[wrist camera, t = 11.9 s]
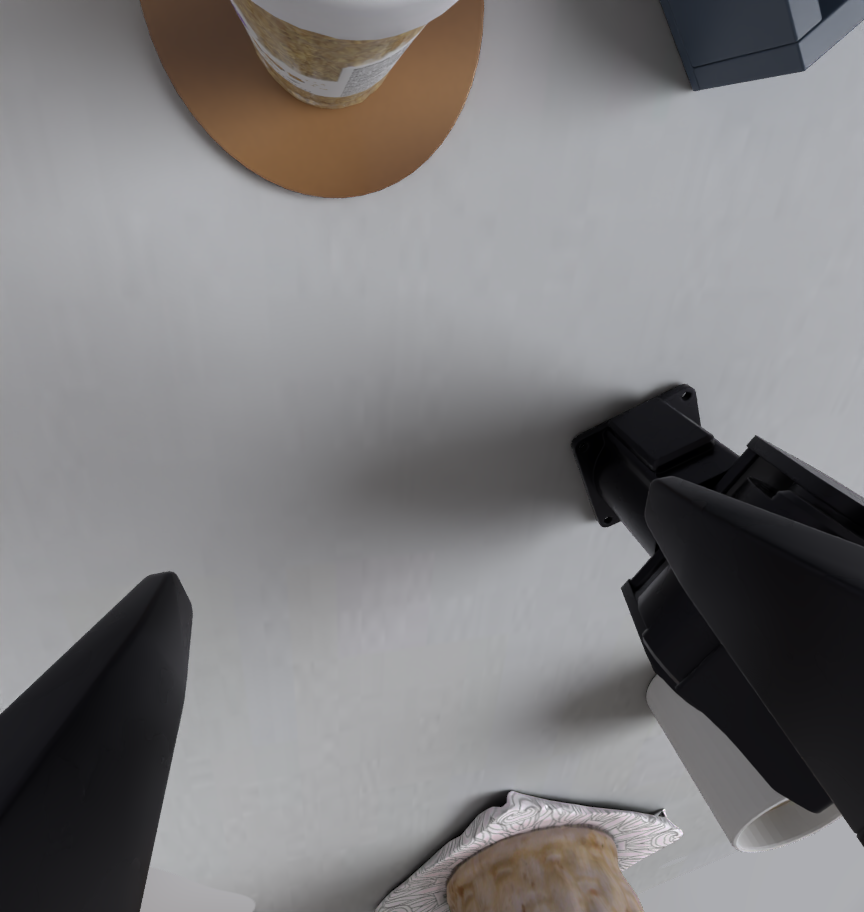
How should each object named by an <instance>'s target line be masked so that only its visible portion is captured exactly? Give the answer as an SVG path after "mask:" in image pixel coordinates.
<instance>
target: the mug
mask: <svg viewBox="0 0 864 912" xmlns="http://www.w3.org/2000/svg"><path fill="white" fill-rule="evenodd" d="M646 698H647V703H648V706H649V707H650V709H651V711H652V712H653V714H654V716H655V717H656V719H657V721H658V723H659V724H660V726H661V728H662V729H663V731H664V733H665V734H666V736H667V738H668V739H669V741H670V743H671V744H672V746H673V748H674V749H675V751H676V753H677V754H678V756H679V758H680V759H681V761H682V763H683V764H684V766H685V768H686V769H687V771H688V773H689V774H690V776H691V778H692V779H693V781H694V783H695V784H696V786H697V788H698V789H699V791H700V793H701V794H702V796H703V798H704V799H705V801H706V803H707V804H708V806H709V808H710V809H711V811H712V813H713V814H714V816H715V818H716V819H717V821H718V823H719V824H720V826H721V828H722V829H723V831H724V833H725V834H726V836H727V838H728V839H729V841H730V843H731V844H732V846H733V847H734V848H736V849H737V850H739V851H741V852H762V851H768V850H772V849H776V848H779V847H782V846H785V845H789V844H791V843H794V842H797V841H799V840H801V839H804V838H806V837H808V836H810V835H812V834H814V833H816V832H818V831H820V830H822V829H824V828H825V827H827V826H828V825H830V824H832V823H833V822H835V821H836V820H838V819H839V818H840V817H842V814H841V813H840V812H839V810H838V809H837V807H836V806H835V804H833V805H831V806H830V807H828V808H827V809H825V810H824V811H822V812H821V813H819V814H816V813H812V812H810V811H808V810H806V809H804V808H802V807H801V806H799V805H797V804H796V803H794V802H792V801H791V800H789V799H787V798H786V797H784V796H782V795H781V794H779V793H777V792H776V791H775V790H773V789H772V788H771V787H770V786H769V784H768V783H767V782H766V781H765V780H764V779H763V777H762V776H761V775H760V774H759V773H758V771H757V770H756V769H755V768H754V767H753V766H752V764H751V763H750V762H749V761H748V760H747V759H746V757H745V756H744V755H743V754H742V753H741V752H740V750H739V749H738V748H737V747H736V746H735V745H734V744H733V743H732V742H731V740H730V739H729V738H728V737H727V736H726V735H725V734H724V733H723V732H722V731H721V730H720V729H719V728H718V727H717V726H716V725H715V724H714V723H713V722H712V721H711V720H709V719H708V718H707V717H706V716H705V715H704V714H703V713H702V712H700V711H698V710H697V709H695V708H694V707H693V706H691V705H690V704H688V703H687V702H686V701H685V700H683V699H682V698H681V697H680V696H679V695H678V694H676V693H675V692H674V691H673V690H672V689H671V688H670V687H669V686H668V685H667V683H666V682H665V681H664V680H663V679H662V678H661V677H659V676H658V675H656V676H655V677H654V679H653V680H652V682H651V683H650V685H649V687H648V690H647V694H646Z"/></svg>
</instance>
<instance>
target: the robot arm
mask: <svg viewBox="0 0 864 912" xmlns="http://www.w3.org/2000/svg"><path fill="white" fill-rule="evenodd" d="M685 392H686V394H685V395H684V396H683V397H682V395H683V394H684V393H685ZM681 397H682V398H681ZM582 443H585V444H584V445H583V446H582V447H579V446H580V445H581V444H582ZM747 447H748V448H747V449H746V451H745V452H744V453H743V454H742V455H741V456H739V455H737V454H736V453H734V452H733V451H731V450H730V449H729V448H727V447H726V446H724V445H723V444H722V443H720V442H719V441H717V440H716V439H715V438H714V436H713V435H712V434H710V433H709V432H708V431H706V430H705V429H703V428H702V427H701V424H700V417H699V411H698V404H697V398H696V392H695V389H693V388H692V387H690V386H689V385H687V384H682V385H679V386H677V387H675V388H673V389H671V390H669V391H667V392H665V393H663V394H661V395H659V396H657V397H655V398H653V399H651V400H649V401H647V402H645V403H643V404H641V405H639V406H637V407H635V408H633V409H631V410H629V411H627V412H624V413H622V414H620V415H618V416H616V417H614V418H612V419H610V420H608V421H606V422H604V423H602V424H600V425H598V426H596V427H594V428H592V429H590V430H588V431H586V432H584V433H582V434H580V435H578V436H577V437H575V438H574V439H573V441H572V443H571V448H572V451H573V454H574V457H575V459H576V462H577V465H578V468H579V471H580V474H581V477H582V480H583V482H584V485H585V488H586V491H587V494H588V497H589V500H590V503H591V506H592V508H593V511H594V514H595V517H596V520H597V521H598V523H599V524H600V525H601V526H602V527H609V526H611V525H613V524H615V523H618V522H620V521H622V523H623V524H624V525H625V526H626V527H627V529H628V530H629V531H630V532H631V533H632V535H633V536H634V537H635V538H636V539H637V541H638V542H639V543H640V544H641V545H642V547H643V548H644V549H645V550H646V551H647V553H648V554H649V555H650V556H651V558H650V559H649V560H648V561H647V562H646V564H645V565H644V566H643V567H642V568H641V569H640V570H639V571H638V573H637V574H636V575H635V576H634V577H633V578H632V579H629V580H628V581H627V582H626V583H625V584H624V585H623V586H622V587H621V590H622V592H623V595H624V597H625V600H626V603H627V605H628V608H629V611H630V613H631V616H632V618H633V621H634V624H635V626H636V629H637V631H638V634H639V637H640V639H641V642H642V645H643V647H644V650H645V652H646V654H647V657H648V659H649V661H650V663H651V665H652V668H653V670H654V671H655V673H656V674H657V675H658V676H659V677H661V678H662V679H663V680H664V681H665V682H666V683H667V685H668V686H669V687H670V688H671V689H672V690H673V691H674V692H675V693H676V694H678V695H679V696H680V697H681V698H682V699H683V700H685V701H686V702H687V703H688V704H690V705H691V706H693V707H694V708H695V709H697V710H698V711H700V712H702V713H703V714H704V715H705V716H706V717H707V718H708V719H709V720H711V721H712V722H713V723H714V724H715V725H716V726H717V727H718V728H719V729H720V730H721V731H722V732H723V733H724V734H725V735H726V736H727V737H728V738H729V739H730V740H731V742H732V743H733V744H734V745H735V746H736V747H737V748H738V749H739V750H740V752H741V753H742V754H743V755H744V756H745V757H746V759H747V760H748V761H749V762H750V763H751V764H752V766H753V767H754V768H755V769H756V770H757V771H758V773H759V774H760V775H761V776H762V777H763V779H764V780H765V781H766V782H767V783H768V784H769V786H770V787H771V788H772V789H773V790H775V791H776V792H777V793H779V794H781V795H782V796H784V797H786V798H787V799H789V800H791V801H792V802H794V803H796V804H797V805H799V806H801V807H802V808H804V809H806V810H808V811H810V812H812V813H816V814H819V813H821V812H822V811H824V810H825V809H827V808H828V807H830V806H831V805H833V804H835V806H836V807H837V809H838V810H839V812H840V813H841V814H842V816H843V817H844V819H845V820H846V821H847V823H848V824H849V826H850V827H851V829H852V830H853V831H854V833H857V838H858V839H859V841H860V842H861V843H862V845H863V846H864V498H863V497H862V496H860V495H858V494H857V493H855V492H853V491H852V490H850V489H849V488H847V487H845V486H844V485H842V484H840V483H839V482H837V481H835V480H834V479H832V478H831V477H829V476H827V475H826V474H824V473H822V472H821V471H819V470H817V469H815V468H814V467H812V466H810V465H808V464H807V463H805V462H803V461H801V460H799V459H798V458H796V457H794V456H792V455H790V454H789V453H787V452H785V451H783V450H782V449H780V448H778V447H776V446H774V445H773V444H771V443H769V442H767V441H765V440H764V439H762V438H760V437H758V436H756V435H755V437H754V438H753V439H752V440H751V441H750V442H749V443H748V445H747ZM606 517H607V518H606ZM605 518H606V519H605ZM192 618H193V611H192V605H191V602H190V600H189V598H188V596H187V594H186V592H185V590H184V588H183V586H182V584H181V582H180V580H179V578H178V576H177V575H176V574H175V573H174V572H171V571H168V572H163V573H157V574H152V575H149V576H147V577H146V578H144V579H143V580H142V581H141V582H140V583H139V584H138V585H137V586H136V587H135V588H134V589H133V590H132V591H131V592H129V593H128V594H127V595H126V596H125V597H124V598H123V599H122V600H121V601H120V602H119V603H118V604H117V605H116V606H115V607H114V608H113V609H111V610H110V611H109V612H108V613H107V614H106V615H105V616H104V617H103V618H102V619H101V620H100V621H99V622H98V623H97V624H96V625H95V626H93V627H92V628H91V629H90V630H89V631H88V632H87V633H86V634H85V635H84V636H83V637H82V638H81V639H80V640H79V641H78V642H76V643H75V644H74V645H73V646H72V647H71V648H70V649H69V650H68V651H67V652H66V653H65V654H64V655H63V656H62V657H61V658H60V659H58V660H57V661H56V662H55V663H54V664H53V665H52V666H51V667H50V668H49V669H48V670H47V671H46V672H45V673H44V674H43V675H42V676H40V677H39V678H38V679H37V680H36V681H35V682H34V683H33V684H32V685H31V686H30V687H29V688H28V689H27V690H26V691H25V692H24V693H22V694H21V695H20V696H19V697H18V698H17V699H16V700H15V701H14V702H13V703H12V704H11V705H10V706H9V707H8V708H7V709H5V710H4V711H3V712H2V713H1V714H0V912H140V908H141V903H142V898H143V894H144V889H145V884H146V879H147V874H148V870H149V865H150V861H151V856H152V851H153V846H154V842H155V837H156V832H157V828H158V823H159V818H160V813H161V809H162V804H163V799H164V795H165V790H166V785H167V780H168V776H169V771H170V766H171V762H172V757H173V752H174V747H175V743H176V738H177V733H178V729H179V724H180V719H181V714H182V709H183V704H184V699H185V691H186V682H187V671H188V660H189V650H190V639H191V628H192Z"/></svg>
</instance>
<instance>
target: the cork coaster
mask: <svg viewBox="0 0 864 912" xmlns="http://www.w3.org/2000/svg"><path fill="white" fill-rule="evenodd" d="M140 3H141V8H142V11H143V14H144V18H145V21H146V24H147V27H148V30H149V33H150V37H151V39H152V42H153V44H154V47H155V49H156V51H157V54H158V56H159V58H160V61H161V63H162V65H163V67H164V69H165V71H166V73H167V75H168V77H169V78H170V80H171V82H172V84H173V86H174V88H175V90H176V91H177V93H178V94H179V96H180V97H181V99H182V100H183V102H184V103H185V105H186V106H187V108H188V109H189V111H190V112H191V114H192V115H193V116H194V118H195V119H196V120H197V121H198V122H199V124H200V125H201V126H202V127H203V128H204V130H205V131H206V132H207V133H208V134H209V136H210V137H211V138H213V139H214V140H215V141H216V142H217V143H218V144H219V145H220V146H221V147H222V148H223V149H224V150H225V151H226V152H227V153H228V154H229V155H231V156H232V157H233V158H234V159H236V160H237V161H238V162H240V163H241V164H242V165H243V166H245V167H246V168H247V169H249V170H251V171H252V172H254V173H256V174H257V175H259V176H261V177H262V178H264V179H266V180H268V181H270V182H272V183H274V184H276V185H279V186H281V187H283V188H285V189H288V190H292V191H295V192H298V193H302V194H305V195H311V196H317V197H323V198H347V197H355V196H362V195H366V194H369V193H373V192H376V191H380V190H382V189H384V188H386V187H389V186H391V185H393V184H395V183H397V182H399V181H400V180H402V179H403V178H405V177H407V176H408V175H410V174H411V173H413V172H414V171H415V170H416V169H417V168H419V167H420V166H421V165H422V164H423V163H424V162H426V161H427V160H428V159H429V158H430V156H431V155H432V154H433V153H434V152H435V151H436V150H437V149H438V147H439V146H440V145H441V144H442V143H443V141H444V140H445V138H446V137H447V135H448V134H449V132H450V131H451V129H452V128H453V126H454V124H455V122H456V120H457V119H458V117H459V115H460V113H461V111H462V109H463V107H464V104H465V102H466V99H467V97H468V94H469V91H470V89H471V86H472V83H473V79H474V75H475V72H476V68H477V64H478V60H479V54H480V48H481V41H482V35H483V19H484V0H459V1H457V2H456V3H455V4H454V5H453V6H451V7H450V8H449V9H448V10H447V11H445V12H444V13H443V14H442V15H440V16H438V17H437V18H435V19H433V20H432V21H430V22H428V23H427V25H426V26H425V27H424V28H423V29H422V31H421V32H420V33H419V34H418V35H417V37H416V38H415V39H414V40H413V41H412V43H411V44H410V45H409V47H408V48H407V49H406V50H405V52H404V53H403V54H402V56H401V57H400V58H399V59H398V61H397V62H396V63H395V65H394V66H393V67H392V69H391V70H390V71H389V73H388V75H387V77H386V78H385V80H384V81H383V83H382V84H381V85H380V86H379V88H378V89H377V90H376V91H375V92H373V93H372V94H370V95H369V96H368V97H367V98H366V99H365V100H364V101H363V102H361V103H359V104H356V105H351V106H348V107H344V108H340V109H329V108H319V107H316V106H313V105H310V104H307V103H304V102H302V101H300V100H298V99H297V98H295V97H294V96H293V95H291V94H290V93H289V92H288V91H286V90H285V89H284V88H283V87H282V86H281V85H280V84H279V83H278V82H277V81H276V80H275V79H274V78H273V77H272V75H271V74H270V73H269V72H268V71H267V69H266V68H265V66H264V65H263V63H262V61H261V60H260V58H259V56H258V55H257V53H256V50H255V48H254V46H253V42H252V40H251V38H250V36H249V34H248V32H247V31H246V29H245V27H244V25H243V23H242V21H241V19H240V18H239V16H238V14H237V13H236V11H235V8H234V7H233V5H232V3H231V1H230V0H140Z"/></svg>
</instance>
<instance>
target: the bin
mask: <svg viewBox="0 0 864 912" xmlns="http://www.w3.org/2000/svg"><path fill="white" fill-rule="evenodd" d="M660 3H661V6H662V8H663V11H664V14H665V16H666V19H667V22H668V24H669V27H670V30H671V32H672V35H673V38H674V40H675V43H676V46H677V48H678V51H679V54H680V57H681V59H682V62H683V65H684V67H685V70H686V73H687V75H688V78H689V81H690V83H691V86H692V89H693V91H698V90H703V89H708V88H714V87H719V86H725V85H730V84H736V83H741V82H747V81H752V80H758V79H764V78H769V77H775V76H780V75H786V74H791V73H797V72H802V71H805V70H806V69H807V68H808V67H810V66H811V65H812V64H813V63H814V62H815V61H816V60H818V59H819V58H820V57H821V56H822V55H823V54H825V53H826V52H827V51H828V50H829V49H830V48H832V47H833V46H834V45H835V44H836V43H837V42H839V41H840V40H841V39H842V38H843V37H844V36H846V35H847V34H848V33H849V32H850V31H851V30H852V29H854V28H855V27H856V26H857V25H858V24H859V23H861V22H862V21H863V20H864V0H660Z"/></svg>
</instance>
